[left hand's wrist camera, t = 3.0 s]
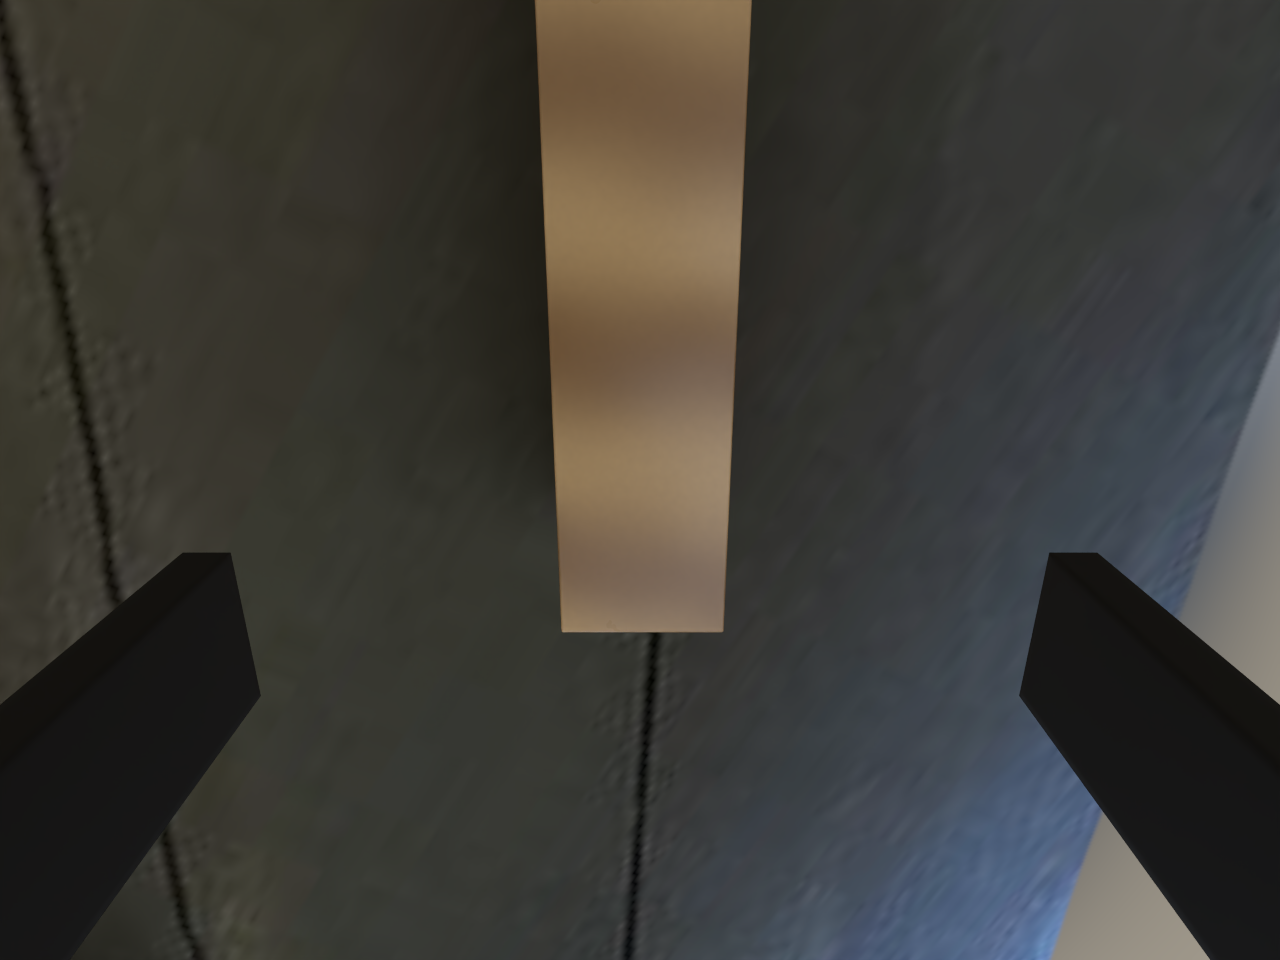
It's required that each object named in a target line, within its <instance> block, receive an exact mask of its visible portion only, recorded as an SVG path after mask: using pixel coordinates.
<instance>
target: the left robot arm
mask: <svg viewBox="0 0 1280 960" xmlns="http://www.w3.org/2000/svg"><path fill="white" fill-rule="evenodd" d="M260 696H261V695H260V690H259V685H258V681H257V676H256V671H255V666H254V662H253V657H252V652H251V647H250V643H249V638H248V633H247V628H246V624H245V619H244V614H243V609H242V605H241V600H240V595H239V590H238V586H237V581H236V576H235V571H234V567H233V562H232V557H231V553H182V554H181V555H179V556H178V557H177V558H176V559H175V560H173V561H172V562H171V563H170V564H169V565H167V566H166V567H165V568H164V569H163V570H161V571H160V572H159V573H158V574H157V575H155V576H154V577H153V578H152V579H151V580H149V581H148V582H147V583H146V584H145V585H143V586H142V587H141V588H140V589H139V590H137V591H136V592H135V593H134V594H133V595H131V596H130V597H129V598H128V599H127V600H125V601H124V602H123V603H122V604H121V605H119V606H118V607H117V608H116V609H115V610H113V611H112V612H111V613H110V614H109V615H107V616H106V617H105V618H104V619H103V620H101V621H100V622H99V623H98V624H97V625H95V626H94V627H93V628H92V629H91V630H89V631H88V632H87V633H86V634H85V635H83V636H82V637H81V638H80V639H79V640H77V641H76V642H75V643H74V644H73V645H71V646H70V647H69V648H68V649H67V650H65V651H64V652H63V653H62V654H61V655H59V656H58V657H57V658H56V659H55V660H53V661H52V662H51V663H50V664H49V665H47V666H46V667H45V668H44V669H43V670H41V671H40V672H39V673H38V674H37V675H35V676H34V677H33V678H32V679H31V680H29V681H28V682H27V683H26V684H25V685H23V686H22V687H21V688H20V689H19V690H17V691H16V692H15V693H14V694H13V695H11V696H10V697H9V698H8V699H7V700H5V701H4V702H3V703H2V704H1V705H0V960H70V959H71V957H72V956H73V954H74V953H75V952H76V950H77V949H78V948H79V946H80V945H81V943H82V942H83V941H84V939H85V938H86V936H87V935H88V934H89V932H90V931H91V930H92V928H93V927H94V925H95V924H96V923H97V921H98V920H99V919H100V917H101V916H102V914H103V913H104V912H105V910H106V909H107V907H108V906H109V905H110V903H111V902H112V901H113V899H114V898H115V896H116V895H117V894H118V892H119V891H120V889H121V888H122V887H123V885H124V884H125V883H126V881H127V880H128V878H129V877H130V876H131V874H132V873H133V872H134V870H135V869H136V867H137V866H138V865H139V863H140V862H141V860H142V859H143V858H144V856H145V855H146V854H147V852H148V851H149V849H150V848H151V847H152V845H153V844H154V843H155V841H156V840H157V838H158V837H159V836H160V834H161V833H162V831H163V830H164V829H165V827H166V826H167V825H168V823H169V822H170V820H171V819H172V818H173V816H174V815H175V813H176V812H177V811H178V809H179V808H180V807H181V805H182V804H183V802H184V801H185V800H186V798H187V797H188V796H189V794H190V793H191V791H192V790H193V789H194V787H195V786H196V784H197V783H198V782H199V780H200V779H201V778H202V776H203V775H204V773H205V772H206V771H207V769H208V768H209V767H210V765H211V764H212V762H213V761H214V760H215V758H216V757H217V755H218V754H219V753H220V751H221V750H222V749H223V747H224V746H225V744H226V743H227V742H228V740H229V739H230V737H231V736H232V735H233V733H234V732H235V731H236V729H237V728H238V726H239V725H240V724H241V722H242V721H243V720H244V718H245V717H246V715H247V714H248V713H249V711H250V710H251V708H252V707H253V706H254V704H255V703H256V702H257V700H258V699H259V697H260ZM1019 696H1020V697H1021V699H1022V700H1023V702H1024V703H1025V704H1026V706H1027V707H1028V708H1029V710H1030V711H1031V713H1032V714H1033V715H1034V717H1035V718H1036V720H1037V721H1038V722H1039V724H1040V725H1041V726H1042V728H1043V729H1044V731H1045V732H1046V733H1047V735H1048V736H1049V737H1050V739H1051V740H1052V742H1053V743H1054V744H1055V746H1056V747H1057V749H1058V750H1059V751H1060V753H1061V754H1062V755H1063V757H1064V758H1065V760H1066V761H1067V762H1068V764H1069V765H1070V767H1071V768H1072V769H1073V771H1074V772H1075V773H1076V775H1077V776H1078V778H1079V779H1080V780H1081V782H1082V783H1083V784H1084V786H1085V787H1086V789H1087V790H1088V791H1089V793H1090V794H1091V796H1092V797H1093V798H1094V800H1095V801H1096V802H1097V804H1098V805H1099V807H1100V808H1101V809H1102V811H1103V812H1104V813H1105V815H1106V816H1107V818H1108V819H1109V820H1110V822H1111V823H1112V825H1113V826H1114V827H1115V829H1116V830H1117V831H1118V833H1119V834H1120V835H1121V837H1122V838H1123V840H1124V841H1125V843H1126V844H1127V845H1128V847H1129V848H1130V849H1131V851H1132V852H1133V854H1134V855H1135V856H1136V858H1137V859H1138V860H1139V862H1140V863H1141V865H1142V866H1143V867H1144V869H1145V870H1146V872H1147V873H1148V874H1149V876H1150V877H1151V878H1152V880H1153V881H1154V883H1155V884H1156V885H1157V887H1158V888H1159V889H1160V891H1161V892H1162V894H1163V895H1164V896H1165V898H1166V899H1167V901H1168V902H1169V903H1170V905H1171V906H1172V907H1173V909H1174V910H1175V912H1176V913H1177V914H1178V916H1179V917H1180V919H1181V920H1182V921H1183V923H1184V924H1185V925H1186V927H1187V928H1188V930H1189V931H1190V932H1191V934H1192V935H1193V936H1194V938H1195V939H1196V941H1197V942H1198V943H1199V945H1200V946H1201V947H1202V949H1203V950H1204V952H1205V953H1206V954H1207V956H1208V957H1209V959H1210V960H1280V705H1279V704H1278V703H1277V702H1276V701H1275V700H1273V699H1272V698H1271V697H1270V696H1269V695H1267V694H1266V693H1265V692H1264V691H1263V690H1261V689H1260V688H1259V687H1258V686H1257V685H1255V684H1254V683H1253V682H1252V681H1250V680H1249V679H1248V678H1247V677H1246V676H1245V675H1243V674H1242V673H1241V672H1240V671H1239V670H1237V669H1236V668H1235V667H1234V666H1233V665H1231V664H1230V663H1229V662H1228V661H1227V660H1225V659H1224V658H1223V657H1222V656H1221V655H1219V654H1218V653H1217V652H1216V651H1215V650H1213V649H1212V648H1211V647H1210V646H1209V645H1207V644H1206V643H1205V642H1204V641H1203V640H1201V639H1200V638H1199V637H1198V636H1197V635H1195V634H1194V633H1193V632H1192V631H1191V630H1189V629H1188V628H1187V627H1186V626H1185V625H1183V624H1182V623H1181V622H1180V621H1179V620H1177V619H1176V618H1175V617H1174V616H1173V615H1171V614H1170V613H1169V612H1168V611H1167V610H1165V609H1164V608H1163V607H1162V606H1161V605H1159V604H1158V603H1157V602H1156V601H1155V600H1153V599H1152V598H1151V597H1150V596H1149V595H1147V594H1146V593H1145V592H1144V591H1143V590H1141V589H1140V588H1139V587H1138V586H1137V585H1135V584H1134V583H1133V582H1132V581H1131V580H1129V579H1128V578H1127V577H1126V576H1125V575H1123V574H1122V573H1121V572H1120V571H1119V570H1117V569H1116V568H1115V567H1114V566H1113V565H1111V564H1110V563H1109V562H1108V561H1107V560H1105V559H1104V558H1103V557H1102V556H1101V555H1099V554H1098V553H1049V557H1048V562H1047V567H1046V571H1045V576H1044V581H1043V586H1042V590H1041V595H1040V600H1039V605H1038V609H1037V614H1036V619H1035V624H1034V628H1033V633H1032V638H1031V643H1030V647H1029V652H1028V657H1027V662H1026V666H1025V671H1024V676H1023V680H1022V685H1021V690H1020V695H1019Z"/></svg>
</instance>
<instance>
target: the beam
mask: <svg viewBox="0 0 1280 960" xmlns="http://www.w3.org/2000/svg"><path fill="white" fill-rule="evenodd" d="M751 6H752V0H535V15H536V39H537V63H538V86H539V110H540V134H541V157H542V181H543V205H544V229H545V252H546V276H547V300H548V323H549V347H550V371H551V395H552V418H553V442H554V466H555V489H556V513H557V537H558V561H559V584H560V608H561V630H562V632H723V630H724V609H725V586H726V564H727V542H728V519H729V497H730V475H731V452H732V430H733V408H734V385H735V363H736V341H737V318H738V296H739V274H740V251H741V229H742V207H743V184H744V162H745V140H746V117H747V95H748V73H749V50H750V28H751Z"/></svg>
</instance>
